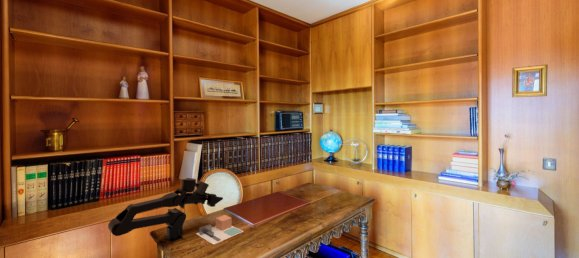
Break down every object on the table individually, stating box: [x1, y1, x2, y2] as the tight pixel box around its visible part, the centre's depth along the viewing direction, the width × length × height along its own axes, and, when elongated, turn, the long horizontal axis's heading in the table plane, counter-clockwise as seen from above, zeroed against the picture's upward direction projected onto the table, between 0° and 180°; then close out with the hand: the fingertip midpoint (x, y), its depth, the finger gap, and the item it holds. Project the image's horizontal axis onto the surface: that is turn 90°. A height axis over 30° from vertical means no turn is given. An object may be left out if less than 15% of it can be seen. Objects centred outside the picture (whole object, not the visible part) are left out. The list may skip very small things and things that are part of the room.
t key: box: [198, 223, 214, 235], centre depth 131 cm, size 8×6×3 cm
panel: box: [195, 225, 244, 245], centre depth 134 cm, size 18×16×4 cm
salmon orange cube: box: [215, 214, 233, 230], centre depth 140 cm, size 6×6×5 cm
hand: (218, 196), depth 147 cm, fingers open, 9 cm apart
